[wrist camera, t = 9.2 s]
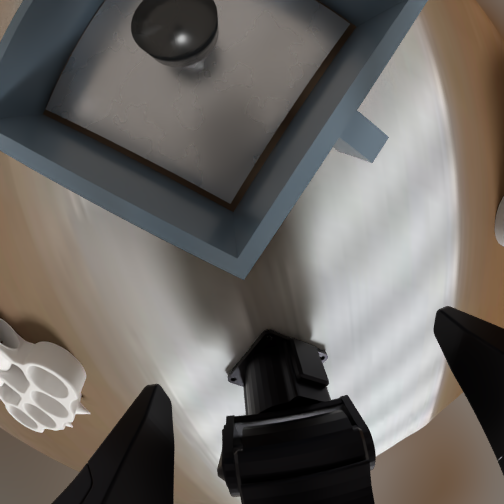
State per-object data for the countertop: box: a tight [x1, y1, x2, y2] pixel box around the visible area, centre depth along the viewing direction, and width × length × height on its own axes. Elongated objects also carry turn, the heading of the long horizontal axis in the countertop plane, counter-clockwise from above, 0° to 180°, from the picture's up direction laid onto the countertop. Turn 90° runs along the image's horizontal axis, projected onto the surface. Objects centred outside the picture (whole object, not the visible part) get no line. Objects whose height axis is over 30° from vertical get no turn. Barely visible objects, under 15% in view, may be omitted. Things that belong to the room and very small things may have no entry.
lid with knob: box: [46, 0, 350, 204], centre depth 10 cm, size 13×13×6 cm
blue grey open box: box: [0, 0, 428, 280], centre depth 11 cm, size 15×17×6 cm
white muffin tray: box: [0, 318, 91, 432], centre depth 23 cm, size 3×18×15 cm
